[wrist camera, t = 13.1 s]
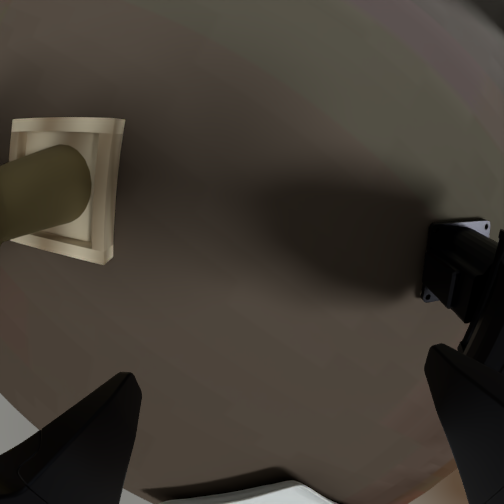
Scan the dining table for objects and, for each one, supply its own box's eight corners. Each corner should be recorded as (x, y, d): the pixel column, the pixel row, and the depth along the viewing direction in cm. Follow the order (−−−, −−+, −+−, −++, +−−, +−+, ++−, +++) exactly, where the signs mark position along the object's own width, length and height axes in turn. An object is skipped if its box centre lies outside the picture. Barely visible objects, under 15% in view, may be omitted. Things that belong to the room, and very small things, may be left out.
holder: (125, 119, 17) (115, 118, 16) (113, 256, 21) (103, 265, 19) (25, 118, 17) (12, 119, 15) (21, 234, 20) (10, 240, 19)
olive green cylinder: (23, 177, 18) (-83, 213, 8) (67, 127, 17) (-54, 136, 7) (57, 237, 20) (-42, 303, 9) (105, 194, 19) (-10, 247, 8)
